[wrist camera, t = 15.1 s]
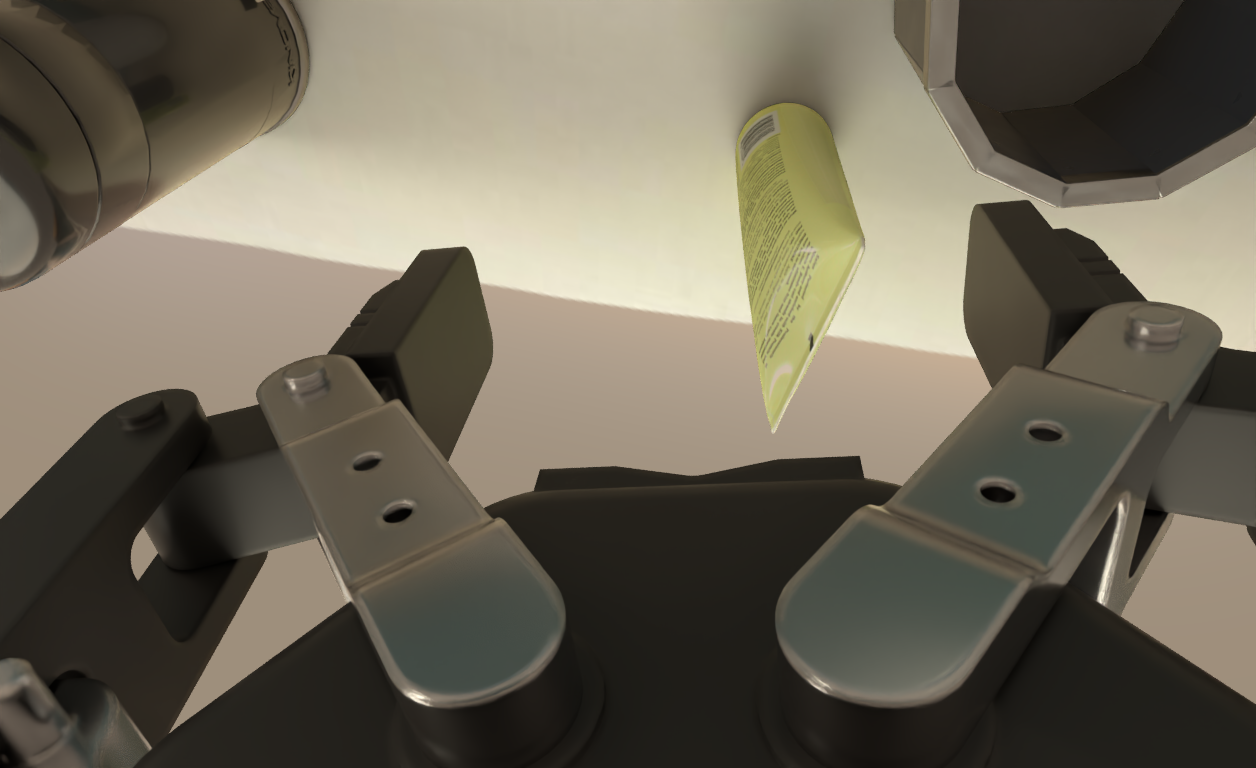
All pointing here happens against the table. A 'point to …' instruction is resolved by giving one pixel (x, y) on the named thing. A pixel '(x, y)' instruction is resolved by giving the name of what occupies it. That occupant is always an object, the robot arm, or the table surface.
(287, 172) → the table surface
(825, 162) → the yellow elongated tapered cylinder
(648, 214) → the table surface
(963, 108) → the pail
